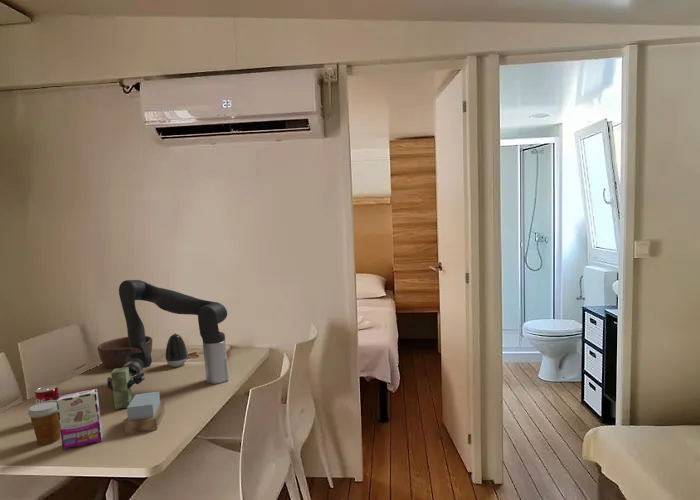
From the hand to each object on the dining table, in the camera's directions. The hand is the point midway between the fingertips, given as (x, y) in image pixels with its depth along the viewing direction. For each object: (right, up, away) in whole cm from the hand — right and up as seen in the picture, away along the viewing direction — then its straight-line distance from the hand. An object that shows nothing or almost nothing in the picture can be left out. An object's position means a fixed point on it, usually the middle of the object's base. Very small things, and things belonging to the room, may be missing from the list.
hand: (120, 387), depth 181 cm
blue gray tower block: (+15, -5, -14) cm, 21 cm away
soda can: (-22, -11, -6) cm, 26 cm away
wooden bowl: (-25, -5, +61) cm, 66 cm away
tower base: (+15, -9, -13) cm, 22 cm away
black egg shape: (+3, -4, +51) cm, 51 cm away
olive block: (0, -8, +3) cm, 8 cm away
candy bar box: (0, -11, -26) cm, 28 cm away
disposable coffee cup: (-13, -11, -22) cm, 28 cm away
